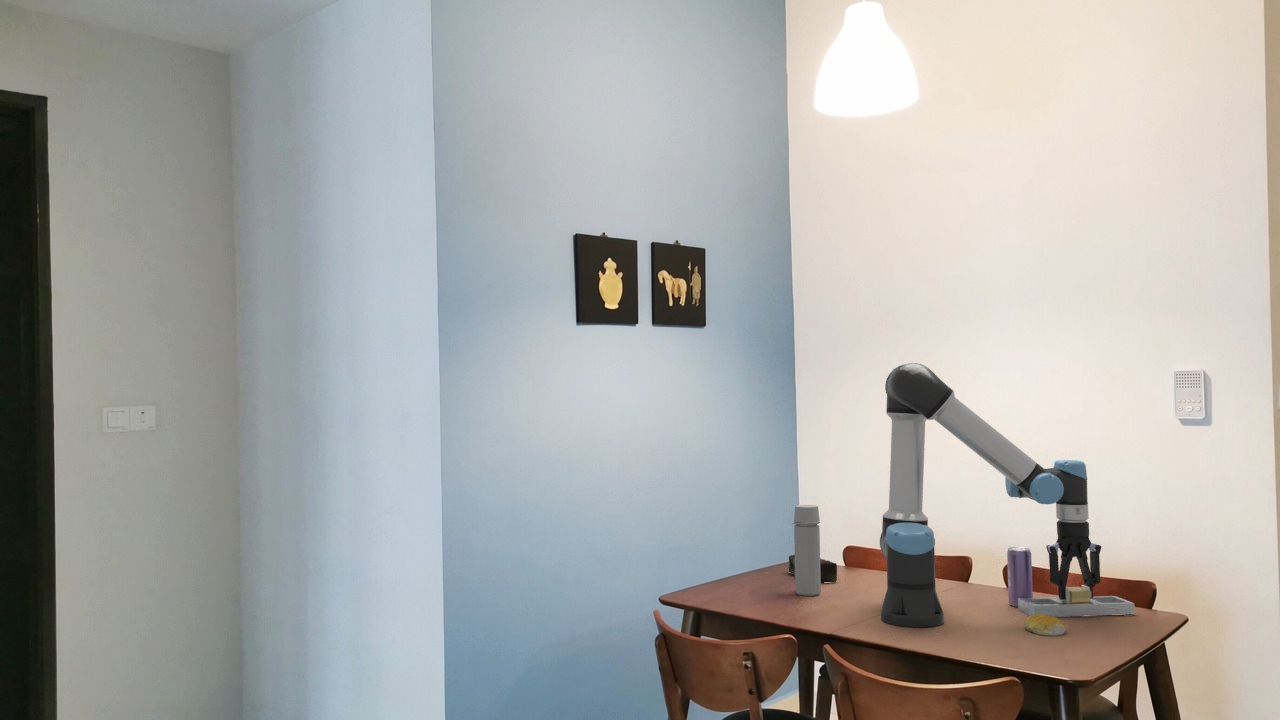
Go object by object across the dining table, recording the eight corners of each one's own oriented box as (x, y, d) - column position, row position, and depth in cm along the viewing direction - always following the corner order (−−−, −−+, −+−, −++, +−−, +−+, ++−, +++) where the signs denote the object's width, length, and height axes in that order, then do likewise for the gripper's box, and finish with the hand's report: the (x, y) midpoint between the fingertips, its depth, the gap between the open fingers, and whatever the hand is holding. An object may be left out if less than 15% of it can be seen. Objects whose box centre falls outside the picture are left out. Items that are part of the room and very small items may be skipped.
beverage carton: (810, 572, 293) (810, 551, 293) (838, 584, 274) (838, 562, 275) (788, 573, 291) (787, 553, 291) (814, 585, 272) (814, 563, 273)
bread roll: (1046, 626, 220) (1046, 609, 221) (1071, 635, 212) (1071, 618, 212) (1016, 628, 219) (1016, 611, 219) (1041, 637, 210) (1040, 620, 210)
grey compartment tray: (1034, 617, 228) (1033, 605, 228) (1018, 609, 237) (1018, 598, 237) (1134, 615, 229) (1134, 603, 229) (1115, 607, 238) (1115, 596, 238)
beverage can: (1035, 608, 238) (1033, 550, 239) (1011, 607, 239) (1009, 550, 240) (1030, 603, 244) (1028, 547, 245) (1006, 602, 245) (1005, 546, 246)
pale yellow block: (1072, 615, 230) (1071, 591, 230) (1061, 610, 236) (1060, 587, 236) (1092, 615, 230) (1091, 591, 230) (1080, 609, 236) (1079, 586, 236)
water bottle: (827, 595, 257) (825, 506, 258) (803, 597, 254) (801, 508, 256) (809, 589, 266) (807, 503, 267) (786, 591, 263) (784, 504, 264)
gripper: (1046, 523, 230) (1050, 616, 229) (1114, 521, 231) (1118, 614, 230) (1032, 519, 237) (1035, 609, 236) (1098, 517, 238) (1102, 607, 237)
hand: (1076, 611), depth 233 cm, fingers open, 5 cm apart
